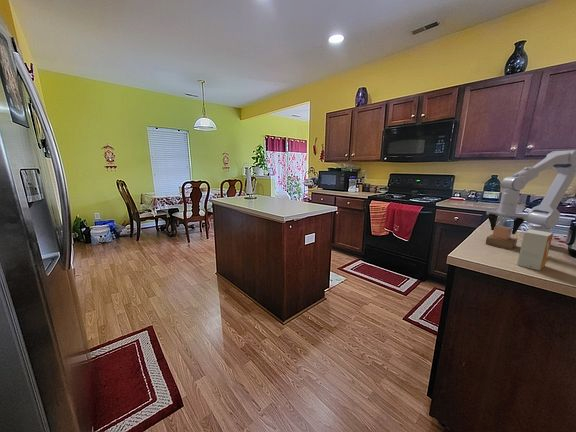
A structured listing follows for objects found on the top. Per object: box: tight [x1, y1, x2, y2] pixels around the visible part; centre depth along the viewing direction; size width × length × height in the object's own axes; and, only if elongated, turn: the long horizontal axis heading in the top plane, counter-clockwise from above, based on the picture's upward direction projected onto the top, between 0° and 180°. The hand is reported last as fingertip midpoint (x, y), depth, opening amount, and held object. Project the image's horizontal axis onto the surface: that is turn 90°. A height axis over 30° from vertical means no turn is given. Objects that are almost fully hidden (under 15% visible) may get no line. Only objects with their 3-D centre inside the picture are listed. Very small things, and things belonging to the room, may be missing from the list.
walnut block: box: [485, 233, 518, 250], centre depth 112 cm, size 9×9×4 cm
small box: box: [516, 229, 554, 271], centre depth 88 cm, size 8×6×13 cm
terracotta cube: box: [492, 225, 513, 240], centre depth 112 cm, size 5×5×5 cm
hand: (502, 231), depth 111 cm, fingers open, 7 cm apart
